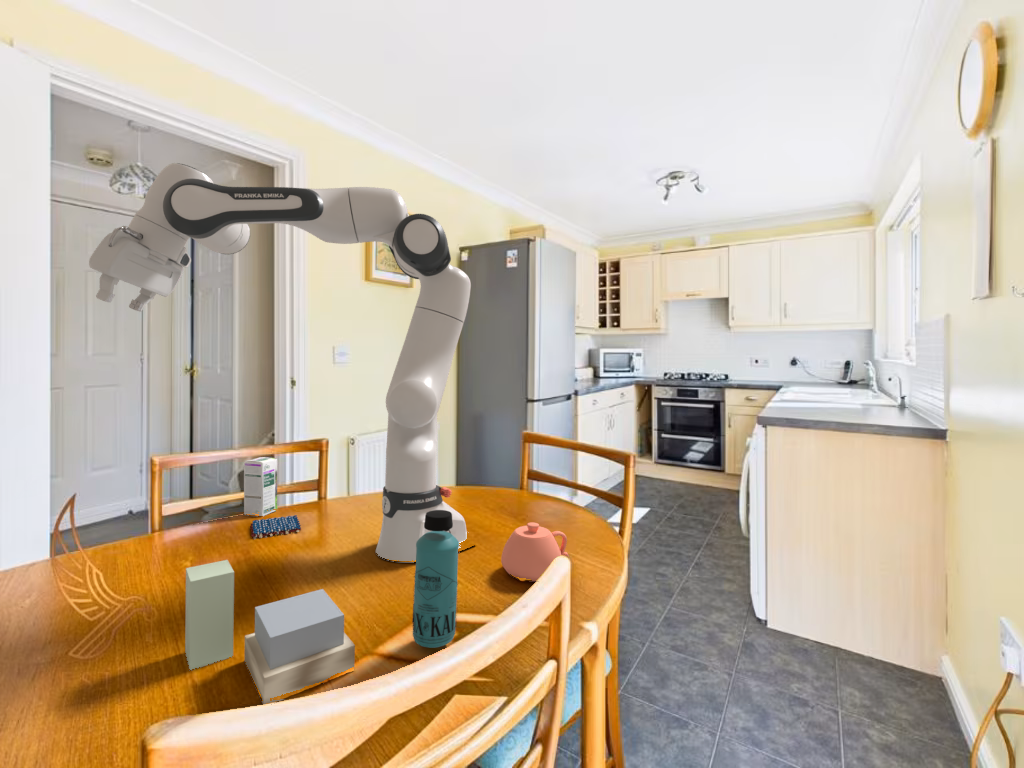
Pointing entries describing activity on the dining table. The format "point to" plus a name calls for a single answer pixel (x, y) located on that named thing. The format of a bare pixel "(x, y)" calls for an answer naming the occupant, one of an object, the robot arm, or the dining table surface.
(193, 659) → the sage block
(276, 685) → the tower base
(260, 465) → the syrup box
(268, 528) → the blue studded pad
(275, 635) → the tower top
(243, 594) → the dining table surface
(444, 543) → the beverage bottle
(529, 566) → the sugar bowl
